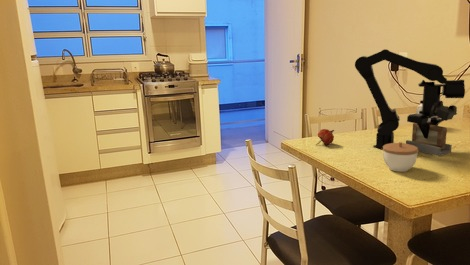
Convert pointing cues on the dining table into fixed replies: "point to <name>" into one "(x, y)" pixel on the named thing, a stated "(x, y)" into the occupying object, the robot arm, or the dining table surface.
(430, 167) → the dining table surface
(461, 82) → the robot arm
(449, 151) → the display ledge
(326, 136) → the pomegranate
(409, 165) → the lidded jar
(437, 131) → the brown flat block
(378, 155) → the dining table surface
